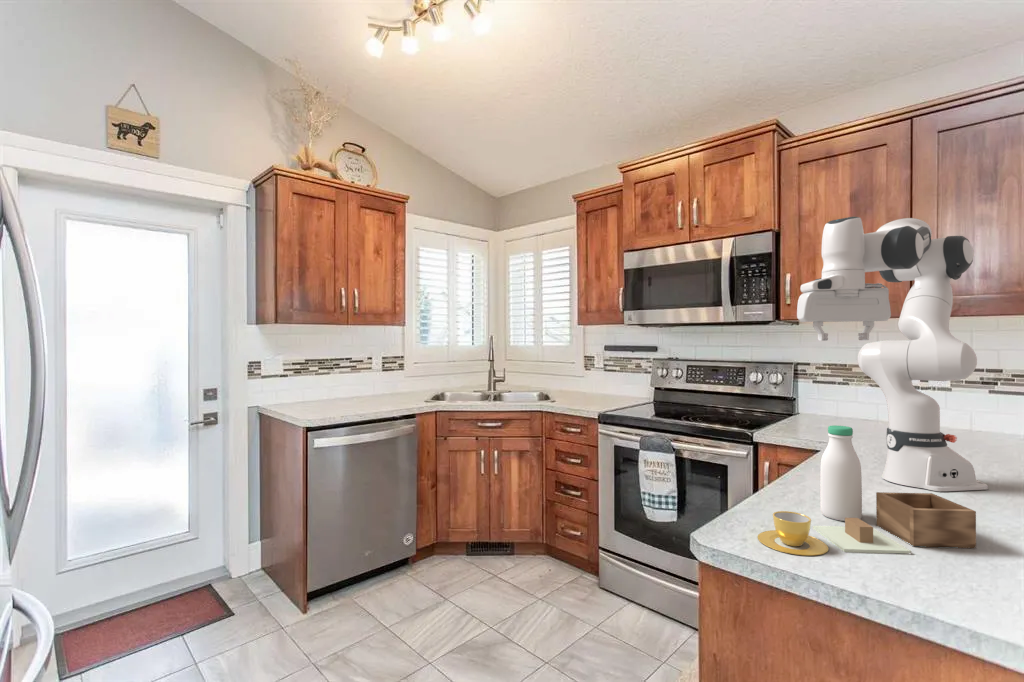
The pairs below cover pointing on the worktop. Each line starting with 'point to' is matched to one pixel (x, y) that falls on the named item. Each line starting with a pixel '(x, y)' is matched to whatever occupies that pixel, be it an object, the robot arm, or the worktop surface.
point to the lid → (860, 538)
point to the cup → (792, 534)
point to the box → (926, 519)
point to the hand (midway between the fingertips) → (843, 340)
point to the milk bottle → (840, 476)
